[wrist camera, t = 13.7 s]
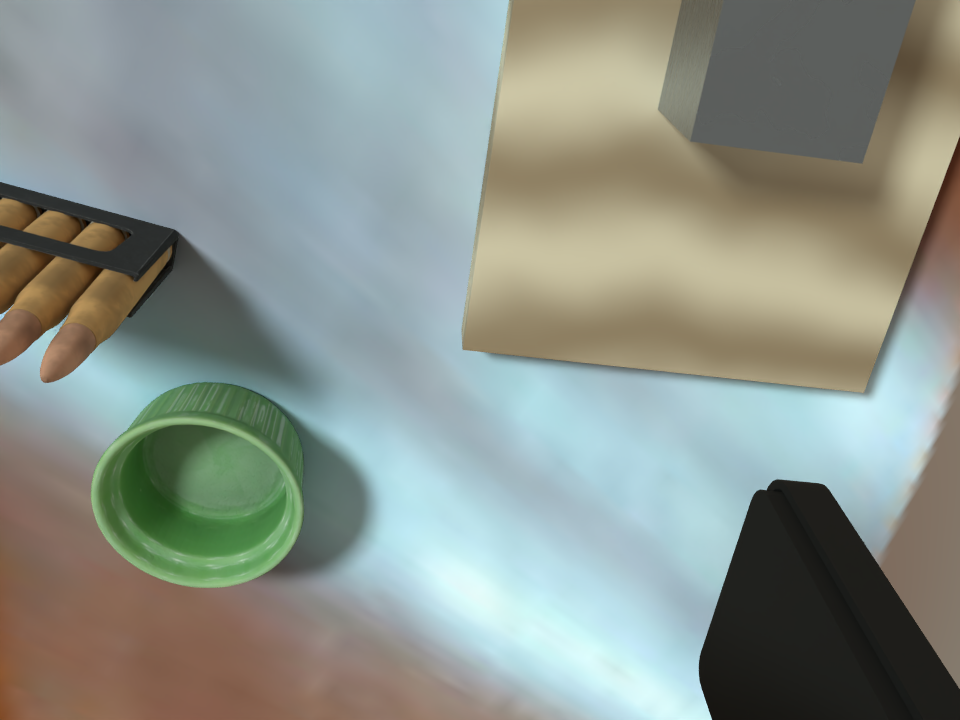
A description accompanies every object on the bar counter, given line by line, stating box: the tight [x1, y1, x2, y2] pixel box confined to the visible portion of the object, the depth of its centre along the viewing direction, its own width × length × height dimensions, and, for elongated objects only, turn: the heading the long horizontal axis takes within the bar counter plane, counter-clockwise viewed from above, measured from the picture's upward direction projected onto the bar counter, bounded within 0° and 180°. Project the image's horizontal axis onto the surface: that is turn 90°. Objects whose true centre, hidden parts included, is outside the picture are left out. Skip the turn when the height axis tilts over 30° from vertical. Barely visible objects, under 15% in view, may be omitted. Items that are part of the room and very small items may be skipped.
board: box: [462, 0, 960, 393], centre depth 32 cm, size 28×18×8 cm, turn 172°
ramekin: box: [91, 382, 304, 588], centre depth 41 cm, size 9×9×4 cm
